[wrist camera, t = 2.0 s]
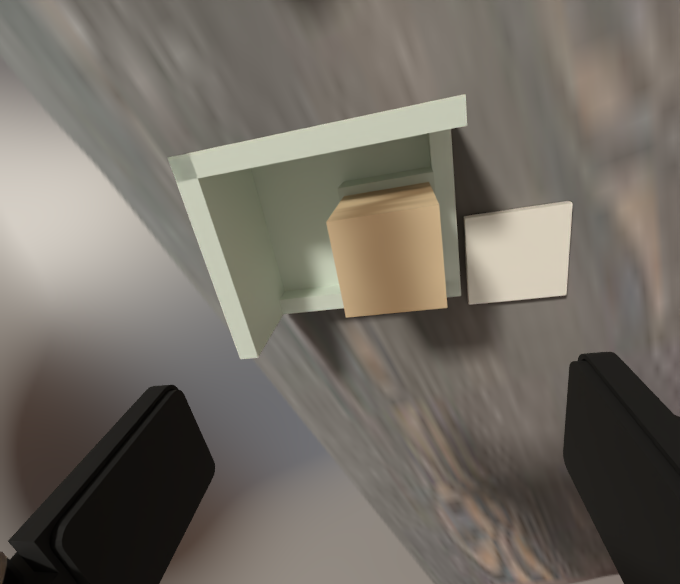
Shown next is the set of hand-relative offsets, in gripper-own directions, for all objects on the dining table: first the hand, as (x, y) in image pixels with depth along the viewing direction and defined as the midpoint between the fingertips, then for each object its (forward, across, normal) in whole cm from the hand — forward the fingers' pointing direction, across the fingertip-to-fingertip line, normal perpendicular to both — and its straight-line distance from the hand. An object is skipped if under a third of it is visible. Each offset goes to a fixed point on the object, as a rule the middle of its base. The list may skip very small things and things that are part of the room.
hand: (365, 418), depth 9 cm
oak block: (+15, -1, 0) cm, 15 cm away
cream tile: (+19, -9, +4) cm, 21 cm away
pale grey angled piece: (+19, +2, -1) cm, 19 cm away
